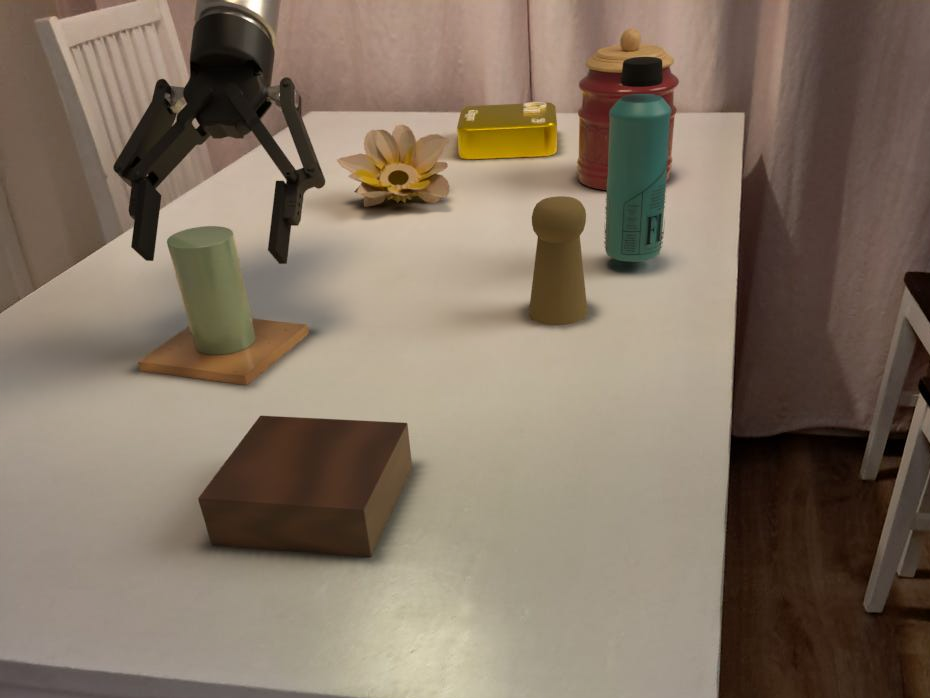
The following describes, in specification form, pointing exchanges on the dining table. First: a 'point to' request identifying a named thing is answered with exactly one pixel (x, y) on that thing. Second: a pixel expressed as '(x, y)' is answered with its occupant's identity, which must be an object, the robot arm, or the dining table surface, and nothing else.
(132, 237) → the robot arm
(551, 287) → the pepper shaker
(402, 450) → the walnut block
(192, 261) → the sage cup
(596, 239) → the dining table surface
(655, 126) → the beverage bottle
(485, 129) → the element tile
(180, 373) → the wooden trivet
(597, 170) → the kitchen canister
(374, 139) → the decorative flower
